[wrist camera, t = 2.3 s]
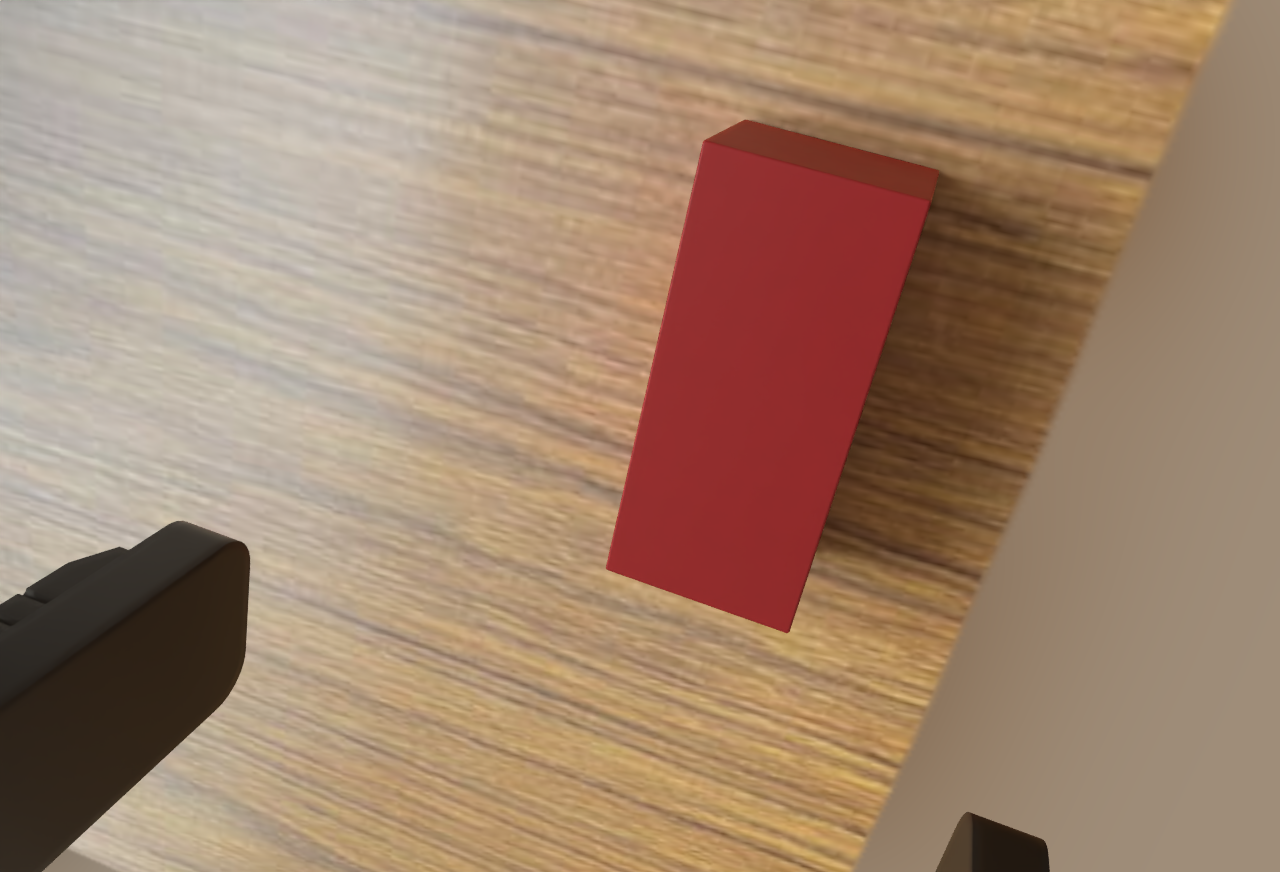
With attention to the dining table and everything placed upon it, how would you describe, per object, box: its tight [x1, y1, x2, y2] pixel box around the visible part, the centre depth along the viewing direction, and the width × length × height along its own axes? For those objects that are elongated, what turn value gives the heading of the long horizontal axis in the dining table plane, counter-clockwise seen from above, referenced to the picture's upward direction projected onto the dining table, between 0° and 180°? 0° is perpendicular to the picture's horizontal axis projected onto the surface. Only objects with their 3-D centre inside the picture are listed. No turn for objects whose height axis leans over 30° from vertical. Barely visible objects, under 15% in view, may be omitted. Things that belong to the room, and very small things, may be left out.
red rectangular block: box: [606, 120, 939, 633], centre depth 21 cm, size 9×4×4 cm, turn 168°
